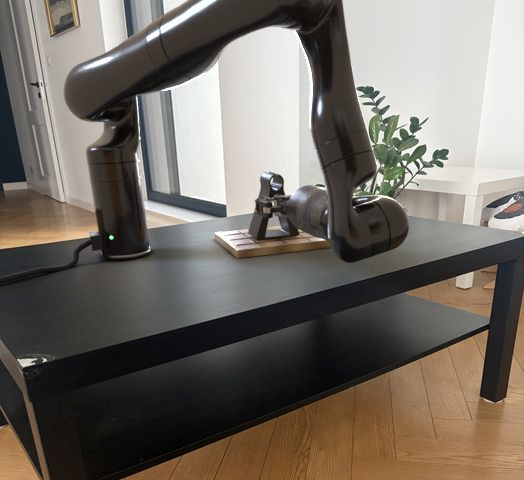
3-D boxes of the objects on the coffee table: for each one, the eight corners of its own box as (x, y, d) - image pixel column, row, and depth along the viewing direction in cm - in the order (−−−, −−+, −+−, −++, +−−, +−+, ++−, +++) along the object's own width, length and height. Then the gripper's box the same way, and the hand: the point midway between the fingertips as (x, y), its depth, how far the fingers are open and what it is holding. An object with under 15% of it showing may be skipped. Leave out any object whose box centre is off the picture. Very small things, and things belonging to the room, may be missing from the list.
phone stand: (256, 240, 107) (253, 176, 102) (248, 234, 112) (245, 173, 107) (299, 235, 109) (298, 172, 104) (289, 230, 115) (288, 170, 110)
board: (237, 258, 101) (236, 249, 101) (215, 239, 117) (214, 231, 116) (336, 246, 106) (336, 238, 106) (302, 230, 122) (302, 222, 122)
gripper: (359, 184, 88) (319, 175, 102) (275, 191, 84) (246, 181, 98) (358, 231, 91) (319, 216, 105) (277, 240, 87) (248, 223, 101)
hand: (284, 199), depth 102 cm, fingers open, 8 cm apart
